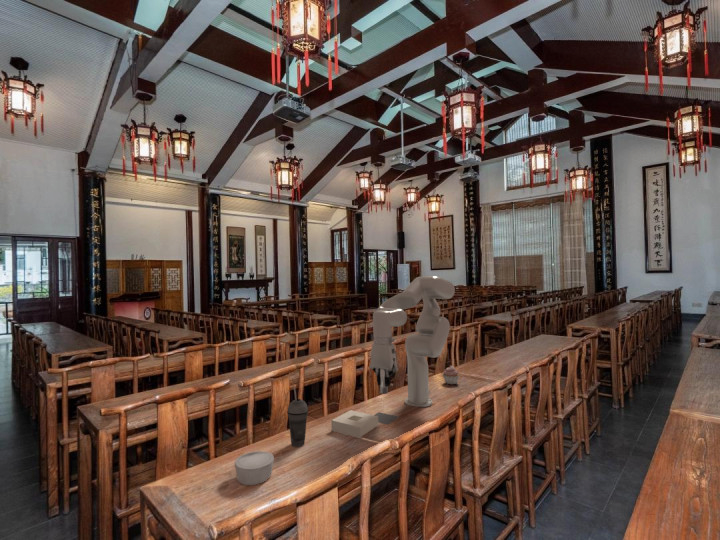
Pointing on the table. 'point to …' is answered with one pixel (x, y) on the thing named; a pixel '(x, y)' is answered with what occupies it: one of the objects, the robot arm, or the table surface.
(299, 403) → the beverage cup
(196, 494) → the table surface
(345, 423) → the hole block
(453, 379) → the cupcake
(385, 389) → the peg
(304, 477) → the table surface
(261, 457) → the ramekin
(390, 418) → the mat
